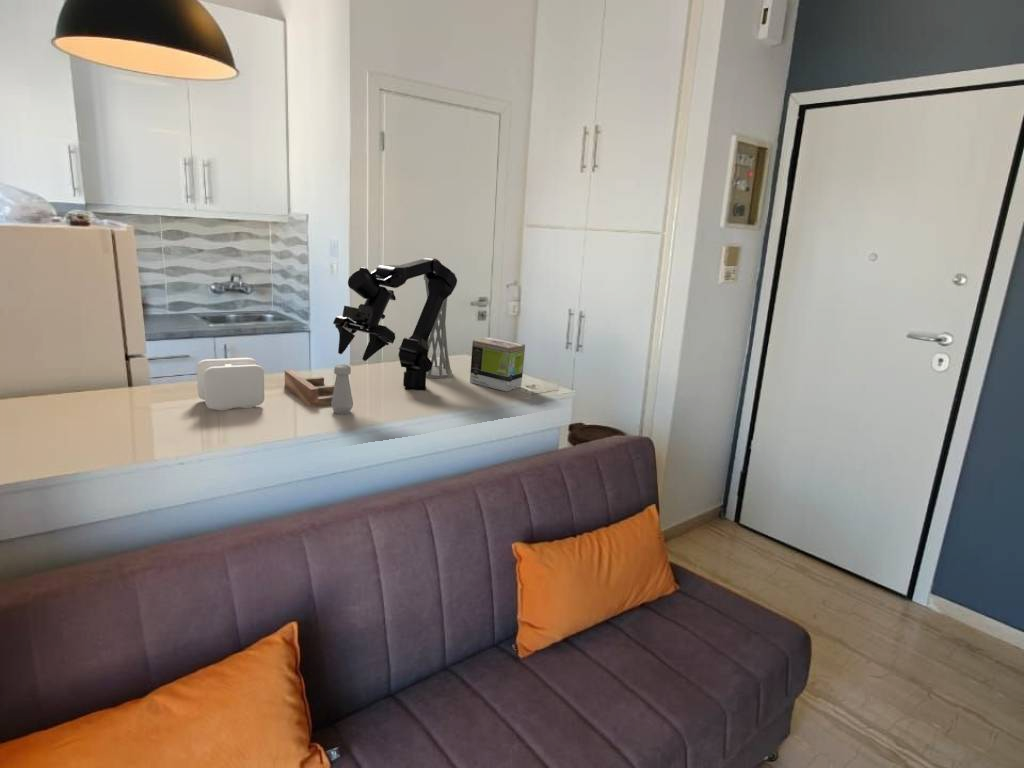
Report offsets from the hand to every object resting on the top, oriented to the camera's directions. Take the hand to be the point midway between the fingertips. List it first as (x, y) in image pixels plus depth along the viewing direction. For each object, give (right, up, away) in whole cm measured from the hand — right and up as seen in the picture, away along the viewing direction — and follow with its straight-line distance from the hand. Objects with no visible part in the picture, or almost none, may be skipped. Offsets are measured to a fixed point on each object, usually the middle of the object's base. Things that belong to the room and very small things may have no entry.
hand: (351, 357), depth 168 cm
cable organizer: (-32, -13, -3) cm, 34 cm away
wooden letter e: (-13, -10, +11) cm, 20 cm away
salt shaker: (-2, -15, -1) cm, 15 cm away
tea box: (+38, -8, +38) cm, 55 cm away
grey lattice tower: (+16, -4, +45) cm, 48 cm away
